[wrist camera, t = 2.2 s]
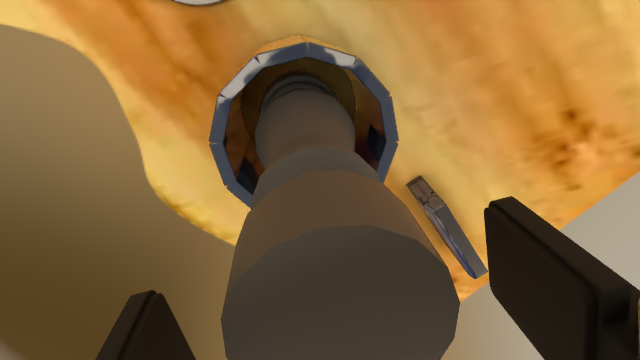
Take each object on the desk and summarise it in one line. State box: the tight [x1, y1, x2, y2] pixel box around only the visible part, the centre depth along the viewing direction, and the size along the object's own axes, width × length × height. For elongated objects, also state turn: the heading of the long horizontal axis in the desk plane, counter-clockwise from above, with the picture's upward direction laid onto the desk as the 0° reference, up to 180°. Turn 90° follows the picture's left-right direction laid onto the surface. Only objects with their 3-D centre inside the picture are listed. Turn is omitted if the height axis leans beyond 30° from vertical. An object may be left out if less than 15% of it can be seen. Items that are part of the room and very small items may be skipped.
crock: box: [209, 35, 399, 208], centre depth 28 cm, size 11×11×10 cm
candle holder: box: [221, 70, 460, 360], centre depth 21 cm, size 6×6×25 cm
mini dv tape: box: [407, 176, 488, 279], centre depth 34 cm, size 8×2×6 cm, turn 35°
